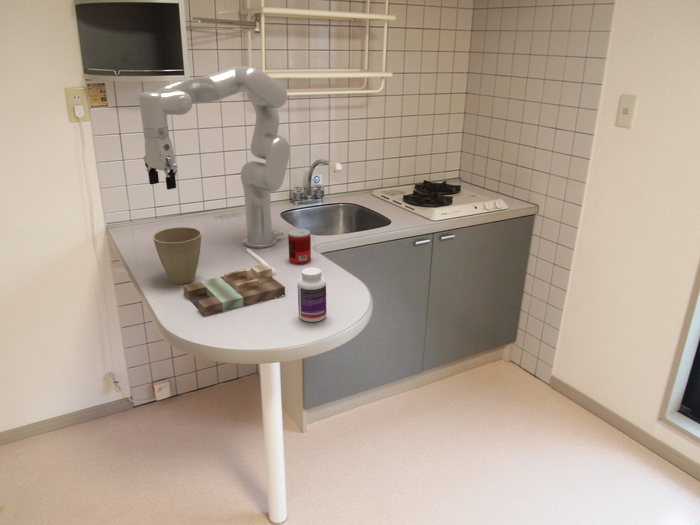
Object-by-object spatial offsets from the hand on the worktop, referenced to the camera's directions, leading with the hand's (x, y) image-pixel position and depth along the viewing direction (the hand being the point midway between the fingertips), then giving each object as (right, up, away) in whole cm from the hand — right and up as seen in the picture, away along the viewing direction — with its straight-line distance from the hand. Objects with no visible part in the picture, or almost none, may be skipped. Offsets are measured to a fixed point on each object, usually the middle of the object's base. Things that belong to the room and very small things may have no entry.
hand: (162, 186), depth 185 cm
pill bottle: (+50, -41, -20) cm, 68 cm away
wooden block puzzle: (+25, -35, -7) cm, 43 cm away
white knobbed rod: (+28, -26, +18) cm, 42 cm away
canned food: (+43, -25, +20) cm, 53 cm away
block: (+33, -30, -3) cm, 45 cm away
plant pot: (+5, -31, +3) cm, 31 cm away
